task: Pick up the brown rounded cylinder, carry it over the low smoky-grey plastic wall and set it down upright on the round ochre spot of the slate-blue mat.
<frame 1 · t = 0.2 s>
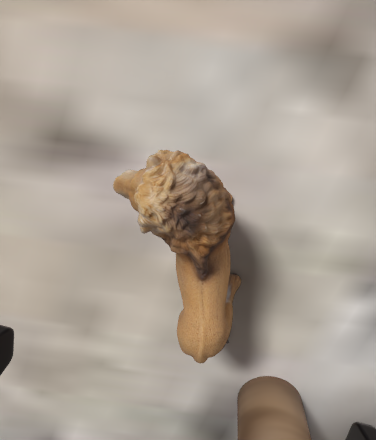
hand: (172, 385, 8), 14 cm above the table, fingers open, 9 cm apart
lion figurine: (201, 242, 22), on the table
brown rounded cylinder: (269, 402, 24), on the table
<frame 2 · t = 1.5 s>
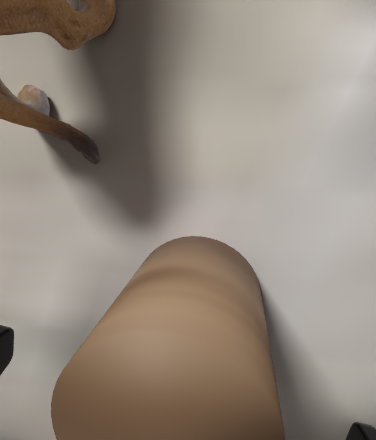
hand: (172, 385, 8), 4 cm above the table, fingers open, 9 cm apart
brown rounded cylinder: (196, 296, 12), on the table
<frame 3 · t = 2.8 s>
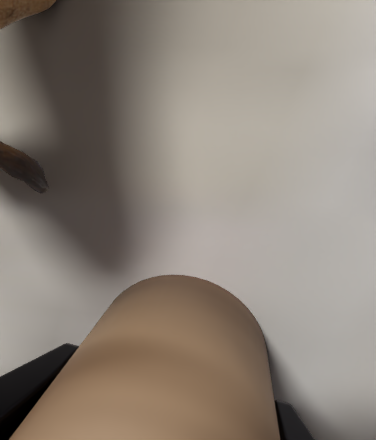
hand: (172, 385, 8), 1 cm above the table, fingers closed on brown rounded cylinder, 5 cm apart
brown rounded cylinder: (180, 352, 9), on the table, touching gripper
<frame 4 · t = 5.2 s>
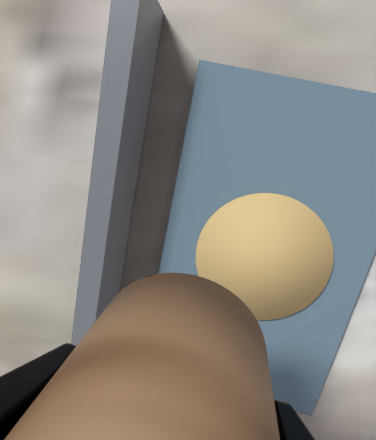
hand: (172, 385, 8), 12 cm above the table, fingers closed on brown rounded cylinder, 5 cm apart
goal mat: (261, 256, 19), on the table
brown rounded cylinder: (179, 351, 9), point 10 cm above the table, touching gripper
low wall: (121, 223, 19), on the table
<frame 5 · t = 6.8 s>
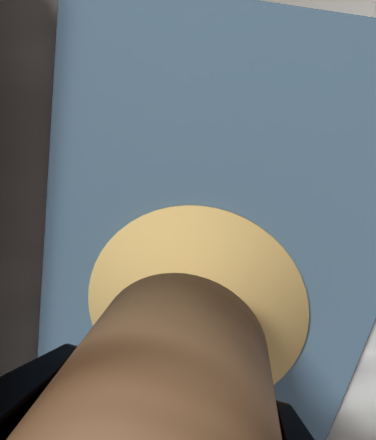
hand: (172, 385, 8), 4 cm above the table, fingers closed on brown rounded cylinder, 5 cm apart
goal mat: (194, 306, 12), on the table
brown rounded cylinder: (180, 351, 9), point 3 cm above the table, touching gripper
when the fingers open (3 cm above the table, at t = 7.9 s): brown rounded cylinder stays where it is, resting on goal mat.
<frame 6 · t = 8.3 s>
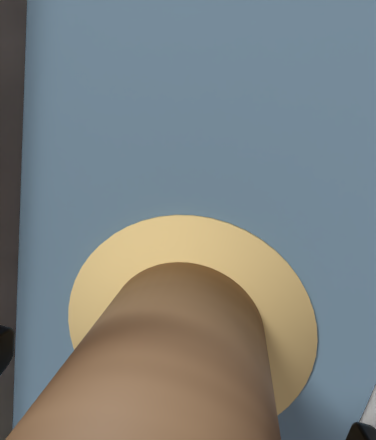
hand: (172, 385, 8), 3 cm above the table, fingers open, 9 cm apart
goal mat: (188, 326, 10), on the table
brown rounded cylinder: (184, 335, 10), point 1 cm above the table, touching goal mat
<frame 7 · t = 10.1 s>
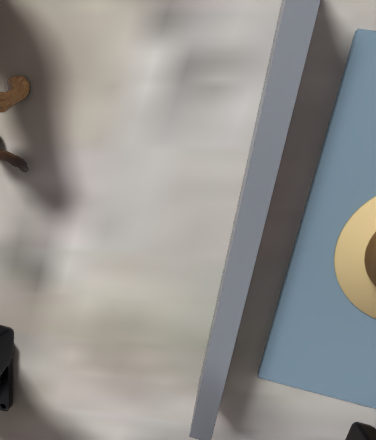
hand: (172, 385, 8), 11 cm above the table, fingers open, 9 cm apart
low wall: (245, 220, 18), on the table
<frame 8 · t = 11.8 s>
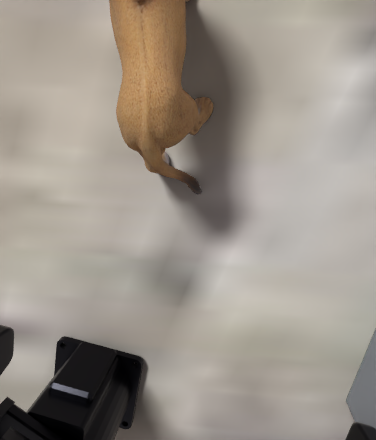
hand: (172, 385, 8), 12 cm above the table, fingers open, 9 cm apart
lion figurine: (162, 59, 17), on the table
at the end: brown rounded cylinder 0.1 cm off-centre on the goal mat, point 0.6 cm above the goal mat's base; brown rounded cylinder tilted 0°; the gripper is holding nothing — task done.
